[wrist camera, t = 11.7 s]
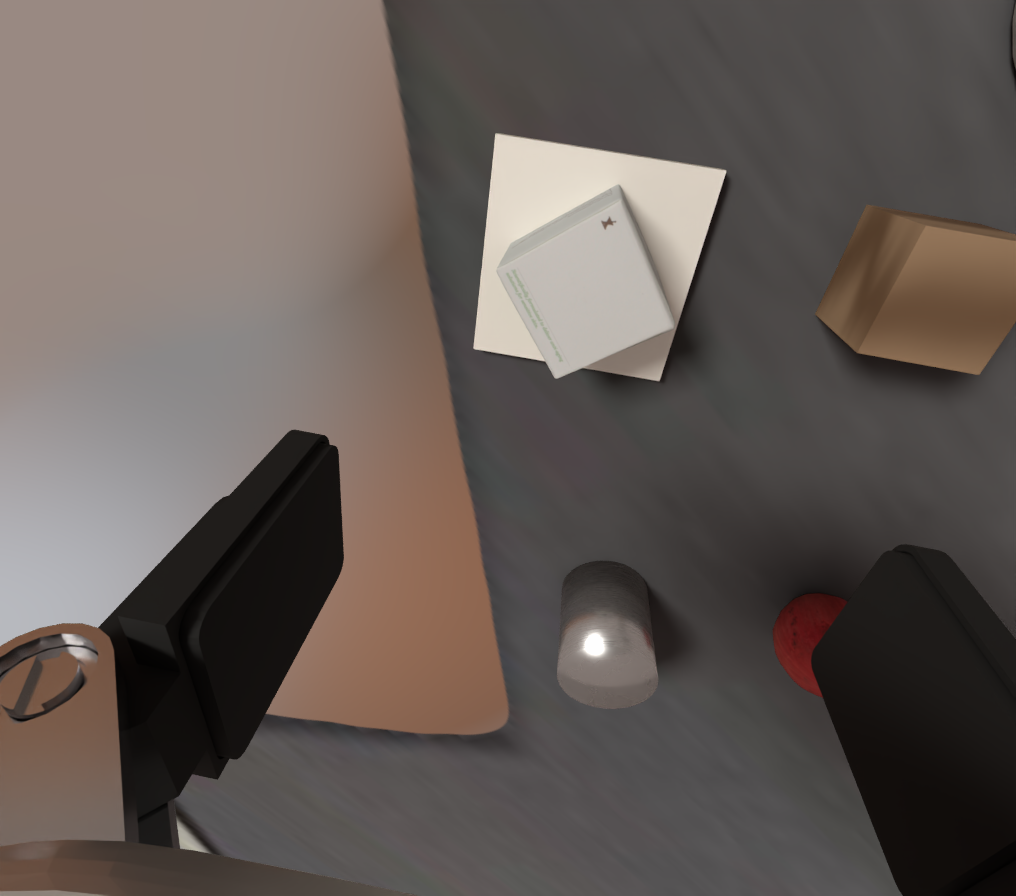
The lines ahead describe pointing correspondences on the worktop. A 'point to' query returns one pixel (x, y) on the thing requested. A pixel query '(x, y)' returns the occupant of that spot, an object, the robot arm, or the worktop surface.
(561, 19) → the worktop surface
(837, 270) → the walnut block
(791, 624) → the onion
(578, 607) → the tin
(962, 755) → the robot arm
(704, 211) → the plate
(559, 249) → the small box
